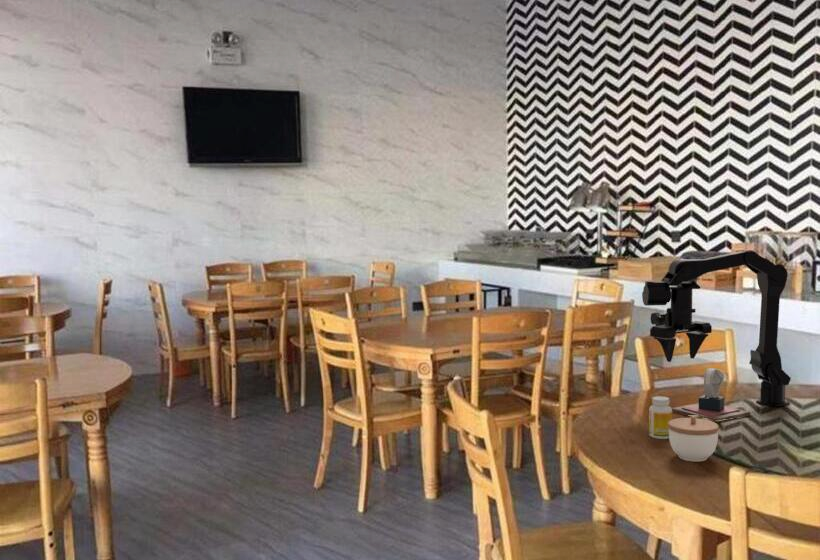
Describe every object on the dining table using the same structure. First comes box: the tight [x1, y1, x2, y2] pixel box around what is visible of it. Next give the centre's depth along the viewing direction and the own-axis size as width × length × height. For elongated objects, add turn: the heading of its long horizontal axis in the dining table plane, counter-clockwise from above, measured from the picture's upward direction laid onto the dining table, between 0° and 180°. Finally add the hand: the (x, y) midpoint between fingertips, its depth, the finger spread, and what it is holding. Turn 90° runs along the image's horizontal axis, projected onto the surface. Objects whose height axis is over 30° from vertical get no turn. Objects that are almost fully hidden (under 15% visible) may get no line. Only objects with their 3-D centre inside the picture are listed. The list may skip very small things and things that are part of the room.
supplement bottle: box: [648, 395, 673, 440], centre depth 194 cm, size 5×5×10 cm
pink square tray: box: [671, 402, 751, 421], centre depth 214 cm, size 14×14×1 cm
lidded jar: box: [668, 416, 720, 463], centre depth 177 cm, size 11×11×9 cm
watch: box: [698, 367, 725, 412], centre depth 214 cm, size 6×8×11 cm
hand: (680, 359), depth 222 cm, fingers open, 9 cm apart
